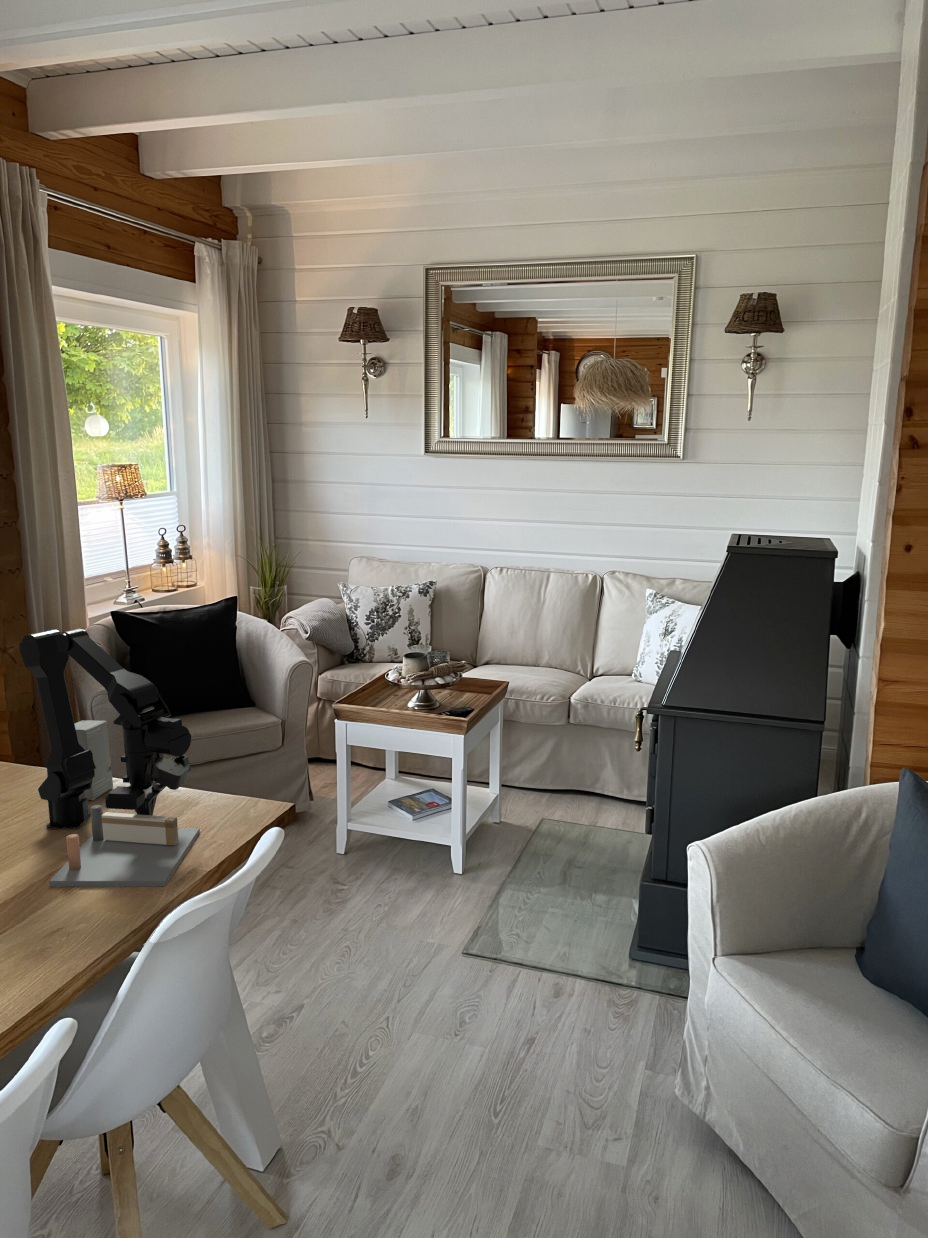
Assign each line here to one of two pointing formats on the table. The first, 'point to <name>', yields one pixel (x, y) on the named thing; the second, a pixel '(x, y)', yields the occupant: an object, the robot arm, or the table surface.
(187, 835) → the board
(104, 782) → the skincare box
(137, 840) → the gate
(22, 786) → the table surface
